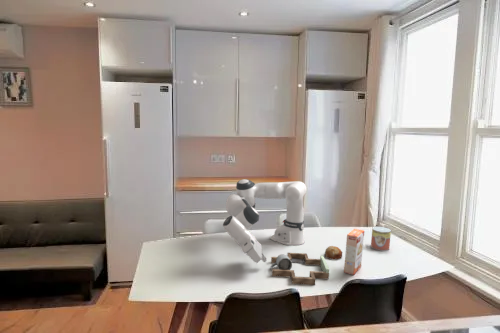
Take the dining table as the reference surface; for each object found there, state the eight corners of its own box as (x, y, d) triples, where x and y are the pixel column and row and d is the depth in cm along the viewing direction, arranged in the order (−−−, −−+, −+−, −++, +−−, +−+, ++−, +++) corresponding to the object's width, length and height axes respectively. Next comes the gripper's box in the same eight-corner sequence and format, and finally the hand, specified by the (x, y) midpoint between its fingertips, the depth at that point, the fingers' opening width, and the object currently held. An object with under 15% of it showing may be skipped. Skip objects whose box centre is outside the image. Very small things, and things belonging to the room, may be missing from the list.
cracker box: (354, 275, 183) (357, 236, 180) (343, 272, 186) (346, 234, 184) (362, 266, 195) (365, 230, 192) (351, 264, 198) (353, 227, 195)
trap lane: (272, 282, 172) (272, 276, 171) (270, 256, 204) (271, 251, 204) (331, 285, 171) (332, 279, 170) (320, 259, 204) (320, 254, 203)
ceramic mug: (288, 265, 192) (289, 252, 191) (292, 272, 184) (292, 258, 183) (269, 266, 191) (269, 252, 190) (271, 272, 183) (272, 258, 182)
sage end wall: (325, 278, 178) (326, 269, 178) (319, 264, 196) (320, 255, 196) (328, 278, 178) (329, 269, 178) (322, 264, 196) (323, 255, 195)
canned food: (370, 248, 224) (371, 230, 222) (371, 243, 234) (372, 225, 233) (389, 251, 220) (391, 233, 218) (389, 246, 230) (391, 228, 229)
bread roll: (325, 259, 214) (320, 247, 213) (340, 252, 214) (335, 240, 213) (330, 265, 204) (325, 253, 203) (346, 258, 204) (341, 246, 203)
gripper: (244, 239, 197) (261, 256, 198) (242, 252, 177) (261, 272, 178) (252, 231, 196) (269, 249, 197) (251, 244, 176) (270, 264, 177)
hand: (265, 260), depth 187 cm, fingers closed
